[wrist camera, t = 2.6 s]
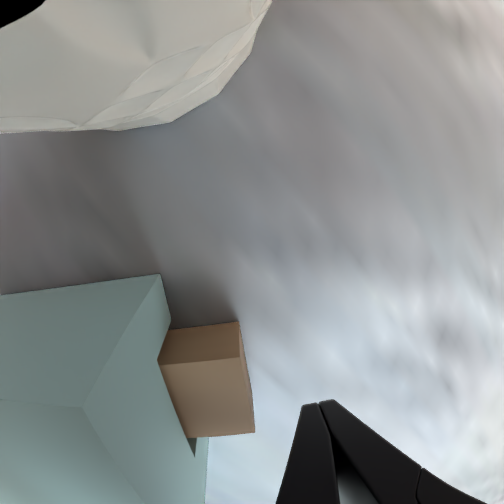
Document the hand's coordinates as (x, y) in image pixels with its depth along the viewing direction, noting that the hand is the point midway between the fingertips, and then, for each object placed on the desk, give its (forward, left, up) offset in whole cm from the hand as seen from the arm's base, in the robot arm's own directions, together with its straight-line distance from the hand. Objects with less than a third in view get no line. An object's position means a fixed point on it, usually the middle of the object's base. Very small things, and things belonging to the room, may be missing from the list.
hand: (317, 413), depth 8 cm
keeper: (0, +7, -3) cm, 8 cm away
